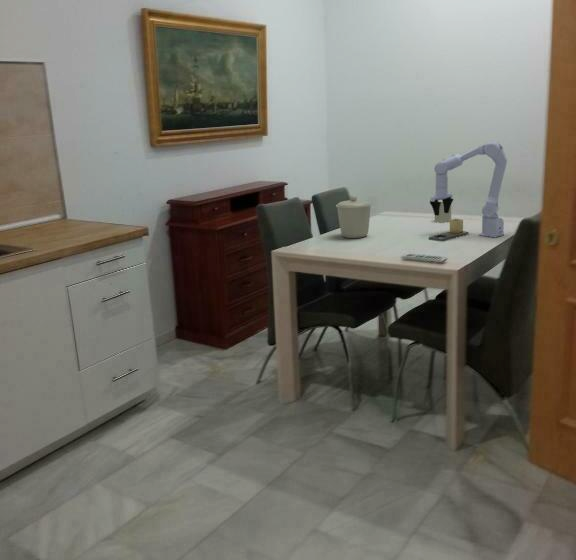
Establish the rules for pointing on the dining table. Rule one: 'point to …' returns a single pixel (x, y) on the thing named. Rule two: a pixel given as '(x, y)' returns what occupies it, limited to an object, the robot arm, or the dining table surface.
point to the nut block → (456, 226)
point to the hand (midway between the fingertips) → (441, 214)
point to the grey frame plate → (446, 236)
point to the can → (443, 214)
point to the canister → (354, 217)
